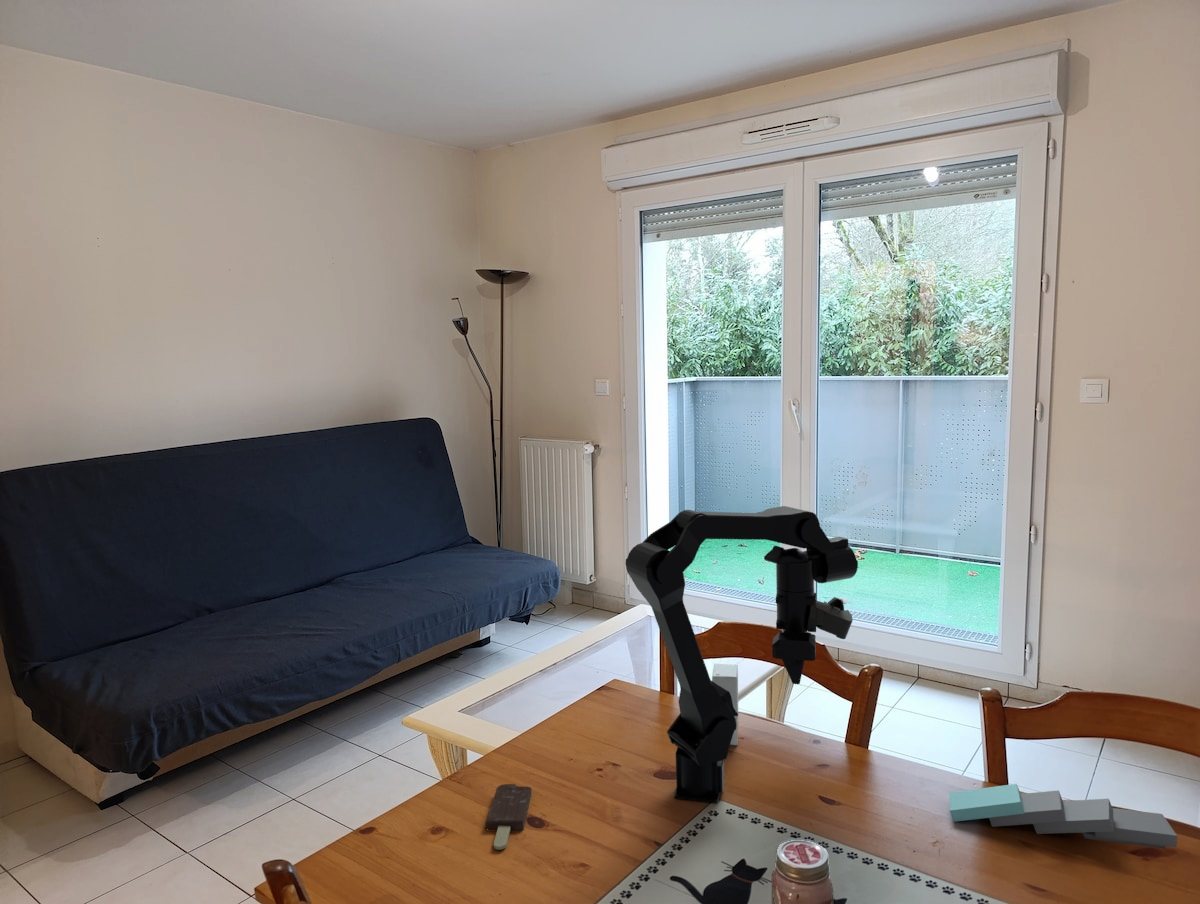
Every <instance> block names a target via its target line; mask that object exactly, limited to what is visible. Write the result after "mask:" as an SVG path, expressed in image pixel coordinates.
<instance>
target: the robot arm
mask: <svg viewBox="0 0 1200 904" xmlns="http://www.w3.org/2000/svg"><path fill="white" fill-rule="evenodd" d="M706 540H755V541H756V540H759V541H760V540H762V541H763V540H766V541H771V542H775V543H779V544H783V545H787V546H791V548H787V549H785V548H784V547H782V546H779V545H773V547H772V549H771V550H770V551H768V552H767V553H766V554H765V555H764V556H763V557H764V558H763V559H764V561H767V562H770V563H774V564H775V566H776V567H775V569H776V573H775V574H776V593H775V594H776V595H775V604H776V621H775V622H776V623H775V629H776V630H781V632H780V631H779V632H778V633H776V635H775V636H774V637H773V638H772V645H771V647H772V648H771V649H772V650H771V651H772V653H771V655H772V658H773V659H777V660H778V659H779V660H781V661H782V664H783V665H784V667H785V669H786V671H787V674H788V677H789V678H790V680H791V683H792V684H794V685H800V683H801V681H802V680H801V679H802V675H803V671H804V665H805V661H807V662H813V661H816V656H817V653H816V650H817V648H816V647H817V646H816V637H817V636H816V635H815V634H814V633H816V632H817V629H819V630H821V631H824V632H826V633H829V634H831V635H834V636H835V637H836V638H838V639H842V640H845V639H847V636H848V633H849V631H850V628H851V626H852V623H853V614H852V613H851V612H850V611H849V610H848V609H847V610H845V605H844V600H843V599H840V598H839V597H836V596H833V598H831V599H830V600H829V601H825V600H824V601H823V602H822V601H820V600H818V599H817V592H815V585H814V584H815V582H816V583H818V584H826V583H831V582H837V581H842V580H848V579H852V578H854V577H855V575H857V572H858V568H859V562H858V560H857V556H856V554H855V551H854V550H853V549H852V548H851V546H849V539H848V538H846V537H843V536H834V537H832V538H830V539H829V538H828V536H827V534H826V533H825V531H824V530H823V529H822V526H821V523H820V520H819V518H818V516H817V514H816V513H815V512H813V511H808V510H804V509H799V508H794V507H790V506H786V505H784V506H783V505H781V506H776V507H771V508H767V509H765V510H763V511H760V512H730V511H729V512H725V511H723V512H722V511H696V510H691V509H684V510H681V511H680V512H679V513H677V514H676V515H675V516H674V517H673V518H672V520H670V521H669V522H668V523H666V524H664V525H663V526H661V527H659V528H658V529H656V530H655V531H653V532H652V533H650V534H649V535H648V536H647V537H646V538H645V539H644V540H643V541H642V542H640V543H637V544H636V545H635V546H634V547H632V548H631V550H630V551H629V552H628V555H627V557H626V559H625V568H626V573H627V574H628V575H629V577H630V579H631V581H632V582H633V583H634V585H635V587H636V589H637V590H638V592H640V594H641V595H642V596H643V598H644V599H645V600H646V601H647V602H648V604H649V606H650V607H651V609H652V613H653V615H654V618H655V621H656V624H657V626H658V629H659V632H660V634H661V637H662V640H663V642H664V646H665V647H666V651H667V654H668V656H669V660H670V661H671V662H670V663H671V664H672V666H673V667H672V668H673V670H674V673H675V676H676V679H677V681H678V684H679V687H680V688H679V689H680V692H679V695H678V696H679V697H678V707H679V712H680V713H679V714H678V716H677V717H676V719H674V720H673V722H672V724H671V725H670V727H669V728H668V729H667V731H666V733H667V736H668V739H669V741H670V743H671V744H672V745H675V747H677V749H676V750H675V776H676V777H675V779H676V780H675V781H676V785H675V790H674V792H673V797H674V799H679V800H680V799H682V800H689V801H697V802H705V803H714V804H715V803H718V802H719V798H720V794H722V793H723V791H724V787H725V760H726V759H727V757H728V753H729V751H730V746H731V745H730V743H731V740H732V736H733V733H734V731H735V730H736V727H737V723H736V718H735V716H738V717H739V712H738V713H737V712H736V711H735V709H734V707H733V703H732V697H731V695H730V692H729V691H727V690H726V689H724V688H722V687H721V686H719V685H718V684H716V683H714V682H713V681H712V679H711V677H710V675H709V672H708V669H707V666H706V663H705V660H704V657H703V655H702V652H701V649H700V646H699V644H698V643H699V642H698V640H697V637H696V635H695V632H694V629H693V626H692V623H691V621H690V618H689V614H688V611H687V609H686V606H685V603H684V593H685V587H686V581H685V575H684V572H685V571H686V570H687V569H688V567H690V566H691V564H692V563H693V562H694V561H695V557H696V556H697V553H698V551H699V550H700V547H701V545H702V544H703V543H704V542H705V541H706ZM671 548H672V549H671ZM801 549H806V550H805V551H803V550H801Z"/></svg>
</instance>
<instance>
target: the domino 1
mask: <svg viewBox="0 0 1200 904" xmlns="http://www.w3.org/2000/svg"><path fill="white" fill-rule="evenodd" d="M1020 794H1021V798H1022V803H1023V808H1024V814H1016V815H1007V816H999V817H990V818H988V819H989V821H990V822H989V823H990V825H991V827H992V828H993V827H994V828H995V827H996V828H997V827H1005V826H1007V827H1009V826H1021V825H1033V824H1036V823H1049V822H1063V821H1066V820H1065V813H1064V806H1063V801H1064V800H1063V798H1062V796H1061V793H1060V790H1059V789H1058V790H1050V791H1049V790H1048V791H1038V792H1037V791H1036V792H1027V793H1025V792H1024V793H1020Z"/></svg>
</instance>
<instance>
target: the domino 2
mask: <svg viewBox="0 0 1200 904" xmlns="http://www.w3.org/2000/svg"><path fill="white" fill-rule="evenodd" d="M1062 801H1063V806H1064V813H1065V820H1066V821H1063V822H1049V823H1036V824H1032V825H1033V827H1034V831H1035V832H1036V834H1037V835H1048V834H1075V833H1082V832H1109V831H1114V822H1113V808H1114V807H1113V806H1112V804H1111V801H1110V798H1095V799H1078V800H1062Z"/></svg>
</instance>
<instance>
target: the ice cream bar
mask: <svg viewBox="0 0 1200 904" xmlns="http://www.w3.org/2000/svg"><path fill="white" fill-rule="evenodd" d="M531 794H533V793H532V787H530V786H519V785H517V784H515V783H504V784H500V785H499V786H498V787H497V788H496V789H495V793H494V796H493V800H492V803H491V805H490V809H489V811H488V815H487V819H486V821H485V831H486V830H487V829H488V830H497V831H496V834H495V836H494V837H495V838H494V841H493V848H494V849H495V850H497V851H498V850H504V849H505V848H506V847H507V846H508V841H509V837H510V833H511V831H512V832H513V831H515V832H516V831H517V832H518V831H524V830H525V829H524V828H525V826H526V821H527V816H528V813H529V807H530V804H529V803H531V799H530V798H532V795H531ZM527 812H528V813H527Z"/></svg>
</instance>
